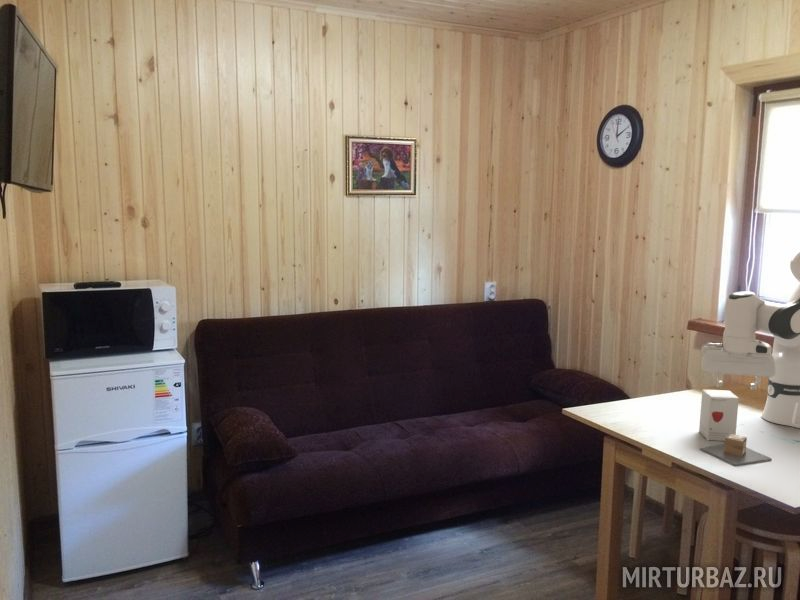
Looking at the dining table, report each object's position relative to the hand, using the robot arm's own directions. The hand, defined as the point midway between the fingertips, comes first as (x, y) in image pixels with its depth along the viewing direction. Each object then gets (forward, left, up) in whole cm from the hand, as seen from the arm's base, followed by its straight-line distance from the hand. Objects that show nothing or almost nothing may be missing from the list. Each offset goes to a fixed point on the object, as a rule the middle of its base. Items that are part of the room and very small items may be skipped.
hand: (736, 388), depth 203 cm
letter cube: (+1, +3, -20) cm, 20 cm away
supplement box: (-2, -13, -21) cm, 24 cm away
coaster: (+1, +3, -20) cm, 21 cm away
